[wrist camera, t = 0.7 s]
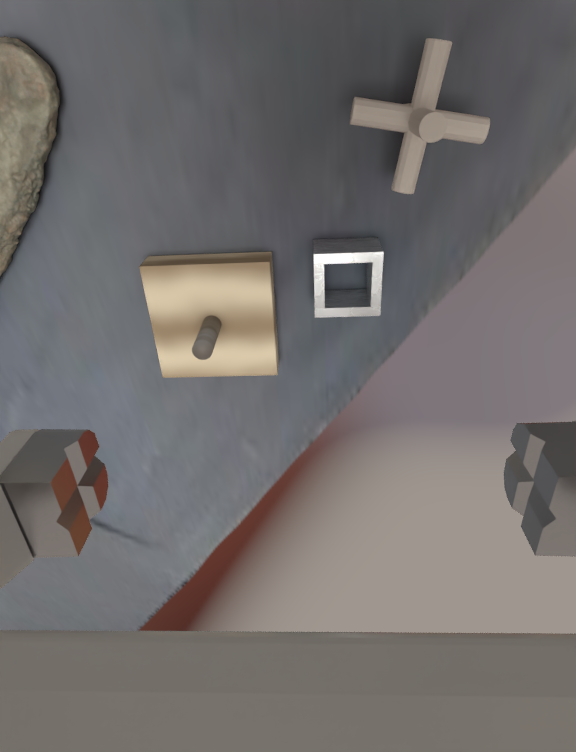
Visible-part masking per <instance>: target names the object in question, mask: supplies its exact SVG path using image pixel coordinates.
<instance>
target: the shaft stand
mask: <svg viewBox="0 0 576 752" xmlns="http://www.w3.org/2000/svg"><path fill="white" fill-rule="evenodd" d="M139 267H140V272H141V277H142V281H143V286H144V291H145V295H146V300H147V305H148V310H149V314H150V319H151V324H152V328H153V333H154V338H155V343H156V347H157V352H158V357H159V361H160V366H161V371H162V376H163V378H166V377H210V376H253V375H277V374H278V364H279V354H278V339H277V324H276V309H275V295H274V280H273V265H272V252H247V253H220V254H193V255H166V256H148V257H147V258H146V259H145V261H144V262H143V263H142V264H141V265H140V266H139Z"/></svg>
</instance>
